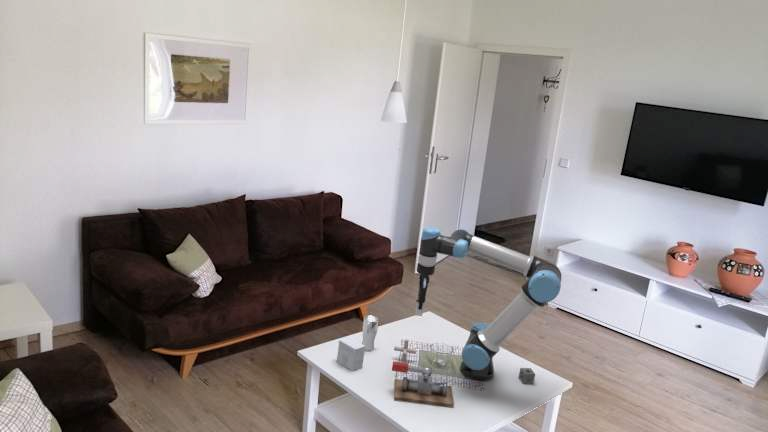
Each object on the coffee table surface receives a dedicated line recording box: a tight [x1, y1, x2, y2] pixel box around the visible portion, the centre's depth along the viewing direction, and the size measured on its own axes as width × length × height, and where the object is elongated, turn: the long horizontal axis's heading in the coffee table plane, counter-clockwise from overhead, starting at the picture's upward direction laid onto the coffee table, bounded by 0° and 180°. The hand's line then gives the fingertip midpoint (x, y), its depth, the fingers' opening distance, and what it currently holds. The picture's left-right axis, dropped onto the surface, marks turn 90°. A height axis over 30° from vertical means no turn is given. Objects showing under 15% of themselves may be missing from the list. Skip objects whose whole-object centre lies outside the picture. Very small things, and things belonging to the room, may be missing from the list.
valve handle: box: [391, 360, 433, 377], centre depth 251 cm, size 4×16×3 cm, turn 86°
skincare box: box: [336, 336, 365, 372], centre depth 269 cm, size 10×6×10 cm, turn 48°
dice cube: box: [518, 367, 536, 385], centre depth 274 cm, size 5×5×5 cm
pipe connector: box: [393, 338, 417, 362], centre depth 278 cm, size 10×10×10 cm
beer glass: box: [361, 314, 379, 352], centre depth 284 cm, size 7×7×15 cm
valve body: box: [402, 374, 448, 396], centre depth 252 cm, size 18×6×8 cm, turn 89°
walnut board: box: [393, 378, 455, 409], centre depth 253 cm, size 24×14×2 cm, turn 89°
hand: (418, 315), depth 265 cm, fingers closed
